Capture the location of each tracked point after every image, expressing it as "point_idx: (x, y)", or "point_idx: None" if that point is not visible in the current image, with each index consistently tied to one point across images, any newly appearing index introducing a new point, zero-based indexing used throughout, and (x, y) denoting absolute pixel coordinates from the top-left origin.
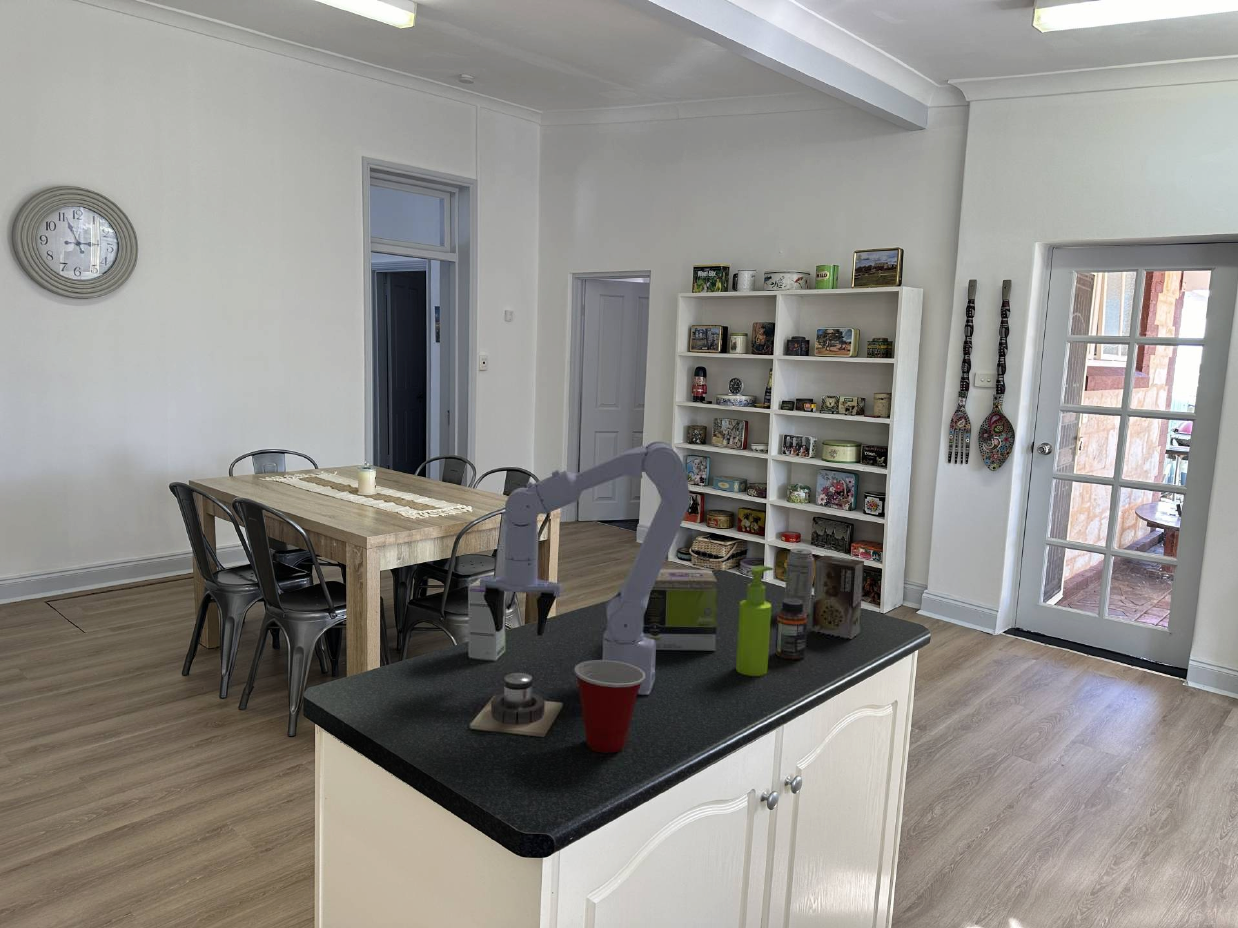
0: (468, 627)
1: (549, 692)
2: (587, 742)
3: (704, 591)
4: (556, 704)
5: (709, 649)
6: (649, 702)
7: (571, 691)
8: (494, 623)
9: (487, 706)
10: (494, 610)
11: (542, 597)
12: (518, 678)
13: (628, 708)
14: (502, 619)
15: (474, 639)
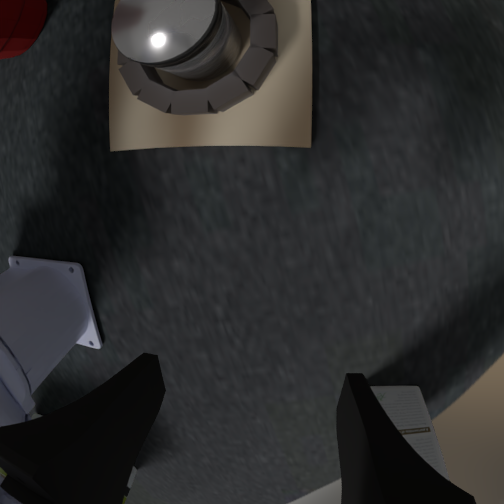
0: (437, 439)
1: (170, 229)
2: (44, 2)
3: (5, 473)
4: (120, 135)
5: (38, 414)
6: (3, 227)
7: (124, 247)
8: (375, 397)
9: (304, 63)
10: (388, 452)
11: (36, 489)
12: (157, 8)
13: None
14: (340, 439)
15: (416, 418)
